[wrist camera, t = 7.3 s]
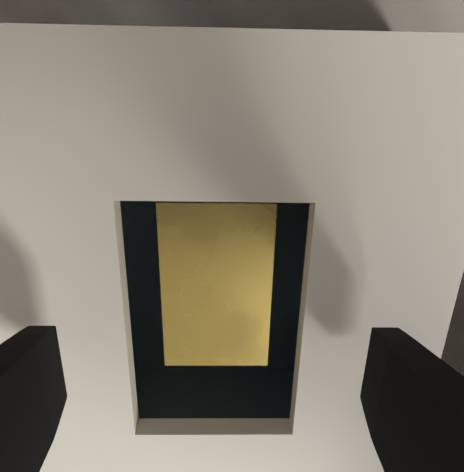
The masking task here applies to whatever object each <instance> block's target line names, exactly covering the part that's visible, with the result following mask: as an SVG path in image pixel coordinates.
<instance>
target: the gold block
mask: <svg viewBox="0 0 464 472" xmlns="http://www.w3.org/2000/svg"><path fill="white" fill-rule="evenodd" d="M156 214H157V232H158V250H159V268H160V287H161V305H162V323H163V341H164V359H165V366H267V365H268V348H269V332H270V315H271V299H272V282H273V266H274V249H275V233H276V216H277V203H271V202H183V201H156Z"/></svg>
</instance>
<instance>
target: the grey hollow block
mask: <svg viewBox="0 0 464 472" xmlns="http://www.w3.org/2000/svg"><path fill="white" fill-rule="evenodd" d="M156 201H183V202H271V203H277V216H276V233H275V249H274V266H273V282H272V299H271V315H270V332H269V348H268V365H267V366H165V359H164V341H163V323H162V305H161V287H160V268H159V250H158V232H157V214H156ZM463 271H464V33H443V32H398V31H352V30H307V29H261V28H216V27H170V26H125V25H80V24H34V23H0V344H1V343H3V342H4V341H6V340H7V339H9V338H10V337H12V336H13V335H14V334H16V333H17V332H19V331H21V330H22V329H24V328H26V327H27V326H56V331H57V337H58V343H59V349H60V355H61V361H62V367H63V373H64V379H65V385H66V391H67V400H66V403H65V406H64V410H63V413H62V416H61V420H60V423H59V426H58V429H57V432H56V435H55V438H54V440H53V443H52V445H51V447H50V449H49V452H48V454H47V456H46V458H45V461H44V463H43V465H42V467H41V469H40V472H384V470H383V467H382V465H381V462H380V460H379V457H378V455H377V452H376V450H375V447H374V445H373V442H372V440H371V436H370V433H369V429H368V426H367V422H366V419H365V415H364V411H363V407H362V403H361V399H360V393H361V388H362V382H363V376H364V370H365V364H366V359H367V353H368V347H369V341H370V335H371V330H372V327H397V328H400V329H401V330H403V331H404V332H406V333H407V334H408V335H410V336H411V337H412V338H414V339H415V340H416V341H418V342H419V343H420V344H422V345H423V346H424V347H426V348H427V349H428V350H430V351H431V352H432V353H433V354H435V355H436V356H437V357H439V358H440V359H441V356H442V353H443V349H444V345H445V341H446V337H447V333H448V329H449V325H450V321H451V318H452V314H453V310H454V306H455V302H456V298H457V294H458V290H459V286H460V282H461V279H462V275H463Z"/></svg>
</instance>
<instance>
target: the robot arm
mask: <svg viewBox="0 0 464 472" xmlns="http://www.w3.org/2000/svg"><path fill="white" fill-rule="evenodd" d="M360 399H361V403H362V407H363V411H364V415H365V419H366V422H367V426H368V429H369V433H370V436H371V440H372V442H373V445H374V447H375V450H376V452H377V455H378V457H379V460H380V462H381V465H382V467H383V470H384V472H464V376H462V375H461V374H460V373H458V372H457V371H456V370H454V369H453V368H452V367H450V366H449V365H448V364H446V363H445V362H444V361H443V360H441V359H440V358H439V357H437V356H436V355H435V354H433V353H432V352H431V351H430V350H428V349H427V348H426V347H424V346H423V345H422V344H420V343H419V342H418V341H416V340H415V339H414V338H412V337H411V336H410V335H408V334H407V333H406V332H404V331H403V330H401V329H400V328H397V327H372V330H371V335H370V341H369V347H368V353H367V359H366V364H365V370H364V376H363V382H362V388H361V393H360ZM66 400H67V391H66V385H65V379H64V373H63V367H62V361H61V355H60V349H59V343H58V337H57V331H56V326H27V327H26V328H24V329H22V330H21V331H19V332H17V333H16V334H14V335H13V336H12V337H10V338H9V339H7V340H6V341H4V342H3V343H1V344H0V472H40V469H41V467H42V465H43V463H44V461H45V458H46V456H47V454H48V452H49V449H50V447H51V445H52V443H53V440H54V438H55V435H56V432H57V429H58V426H59V423H60V420H61V416H62V413H63V410H64V406H65V403H66Z"/></svg>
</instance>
